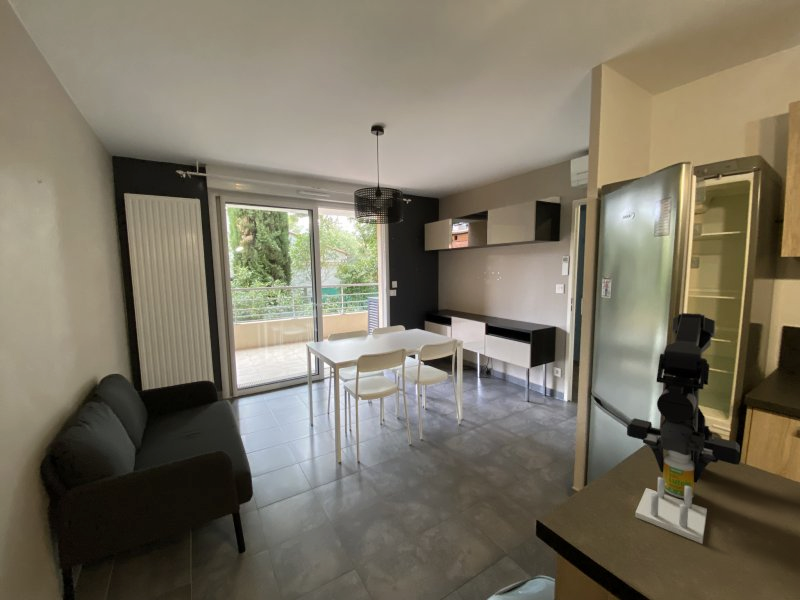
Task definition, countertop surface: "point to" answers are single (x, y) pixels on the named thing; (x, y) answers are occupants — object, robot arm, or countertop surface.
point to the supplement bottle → (678, 473)
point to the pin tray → (673, 512)
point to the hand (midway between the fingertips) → (678, 476)
